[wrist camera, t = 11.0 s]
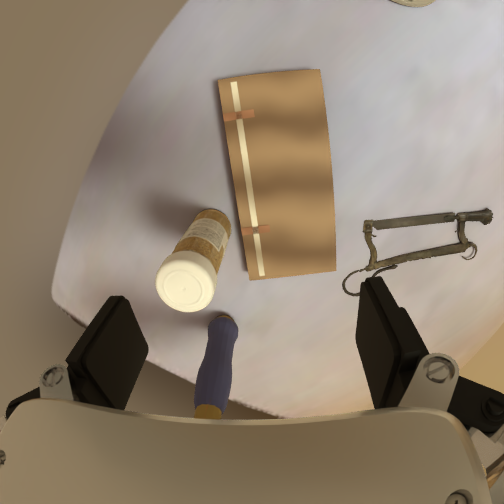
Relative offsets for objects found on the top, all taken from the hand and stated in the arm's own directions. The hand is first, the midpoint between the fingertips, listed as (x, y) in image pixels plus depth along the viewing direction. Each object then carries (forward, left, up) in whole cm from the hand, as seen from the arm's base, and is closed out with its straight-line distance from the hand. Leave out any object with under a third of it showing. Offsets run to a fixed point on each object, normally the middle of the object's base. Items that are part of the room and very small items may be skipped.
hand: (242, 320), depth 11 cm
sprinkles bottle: (+3, -6, -22) cm, 23 cm away
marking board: (-1, +3, -22) cm, 22 cm away
